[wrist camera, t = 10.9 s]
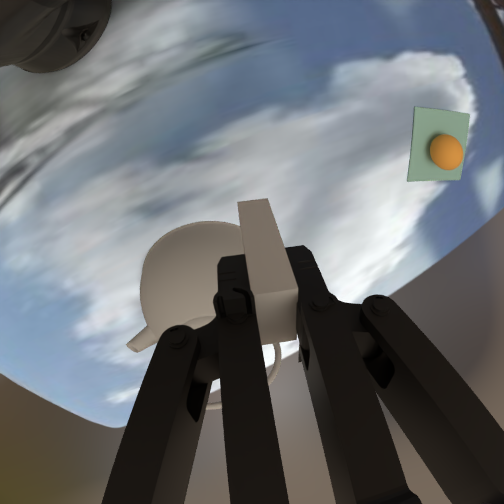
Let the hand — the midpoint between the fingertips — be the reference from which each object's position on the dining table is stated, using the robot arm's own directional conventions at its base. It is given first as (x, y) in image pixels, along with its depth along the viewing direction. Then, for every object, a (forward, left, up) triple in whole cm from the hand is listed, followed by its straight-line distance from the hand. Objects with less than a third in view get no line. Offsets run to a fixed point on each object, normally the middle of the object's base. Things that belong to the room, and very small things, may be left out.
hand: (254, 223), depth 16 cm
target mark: (+4, +32, -24) cm, 40 cm away
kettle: (+25, -7, -25) cm, 36 cm away
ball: (+4, +31, -22) cm, 38 cm away
